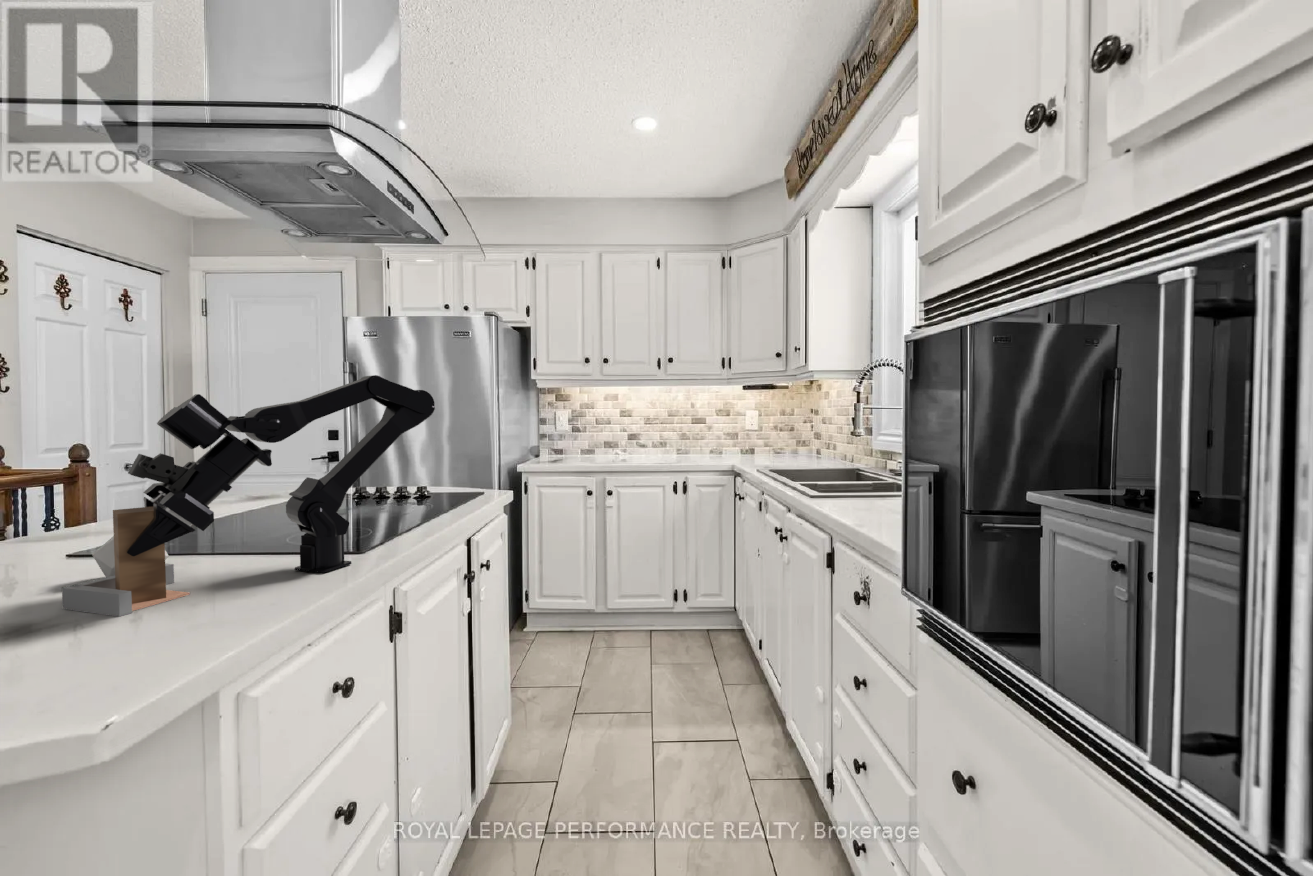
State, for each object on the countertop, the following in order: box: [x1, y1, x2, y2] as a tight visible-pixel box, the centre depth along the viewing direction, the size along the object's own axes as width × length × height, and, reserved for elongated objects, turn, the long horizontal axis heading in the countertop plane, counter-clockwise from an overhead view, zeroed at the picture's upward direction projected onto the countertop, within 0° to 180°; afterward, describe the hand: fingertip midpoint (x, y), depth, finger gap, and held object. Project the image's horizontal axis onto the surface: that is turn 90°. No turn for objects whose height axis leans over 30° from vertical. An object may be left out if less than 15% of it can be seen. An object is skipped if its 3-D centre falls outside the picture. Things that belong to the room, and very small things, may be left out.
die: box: [91, 535, 169, 578], centre depth 98 cm, size 8×9×10 cm
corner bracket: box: [61, 563, 175, 617], centre depth 88 cm, size 14×11×3 cm
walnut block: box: [112, 506, 167, 604], centre depth 86 cm, size 5×5×13 cm
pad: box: [132, 589, 190, 612], centre depth 87 cm, size 8×8×1 cm
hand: (127, 551), depth 85 cm, fingers open, 5 cm apart
